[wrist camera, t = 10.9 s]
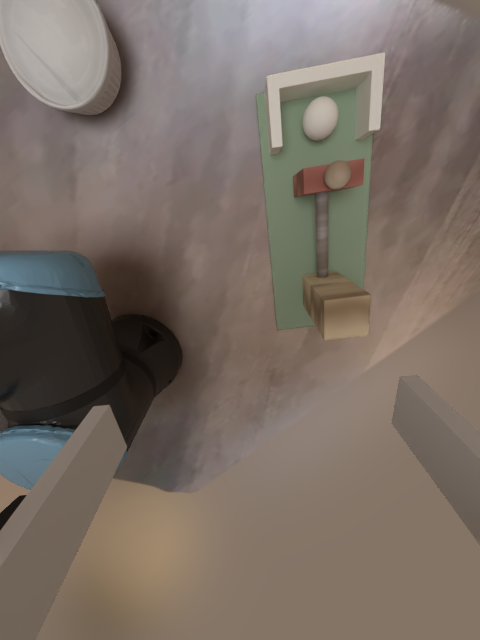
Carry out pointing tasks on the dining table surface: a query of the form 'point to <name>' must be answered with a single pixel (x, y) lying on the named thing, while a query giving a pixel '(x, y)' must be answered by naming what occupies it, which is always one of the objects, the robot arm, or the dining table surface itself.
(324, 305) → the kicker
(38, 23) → the ramekin
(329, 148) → the pitch
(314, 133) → the ball
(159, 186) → the dining table surface
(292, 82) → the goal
